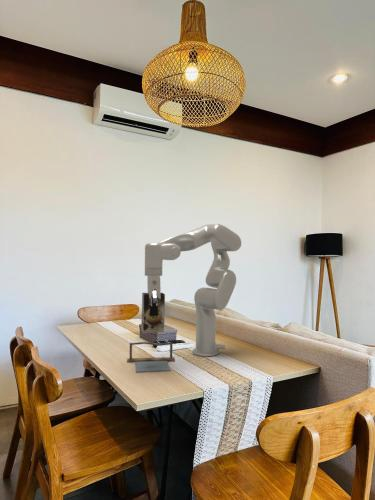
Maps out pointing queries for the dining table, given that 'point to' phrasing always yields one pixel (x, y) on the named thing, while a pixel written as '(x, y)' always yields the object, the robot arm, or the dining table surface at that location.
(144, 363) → the mat
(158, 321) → the coffee box
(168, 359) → the wire stand
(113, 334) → the dining table surface
